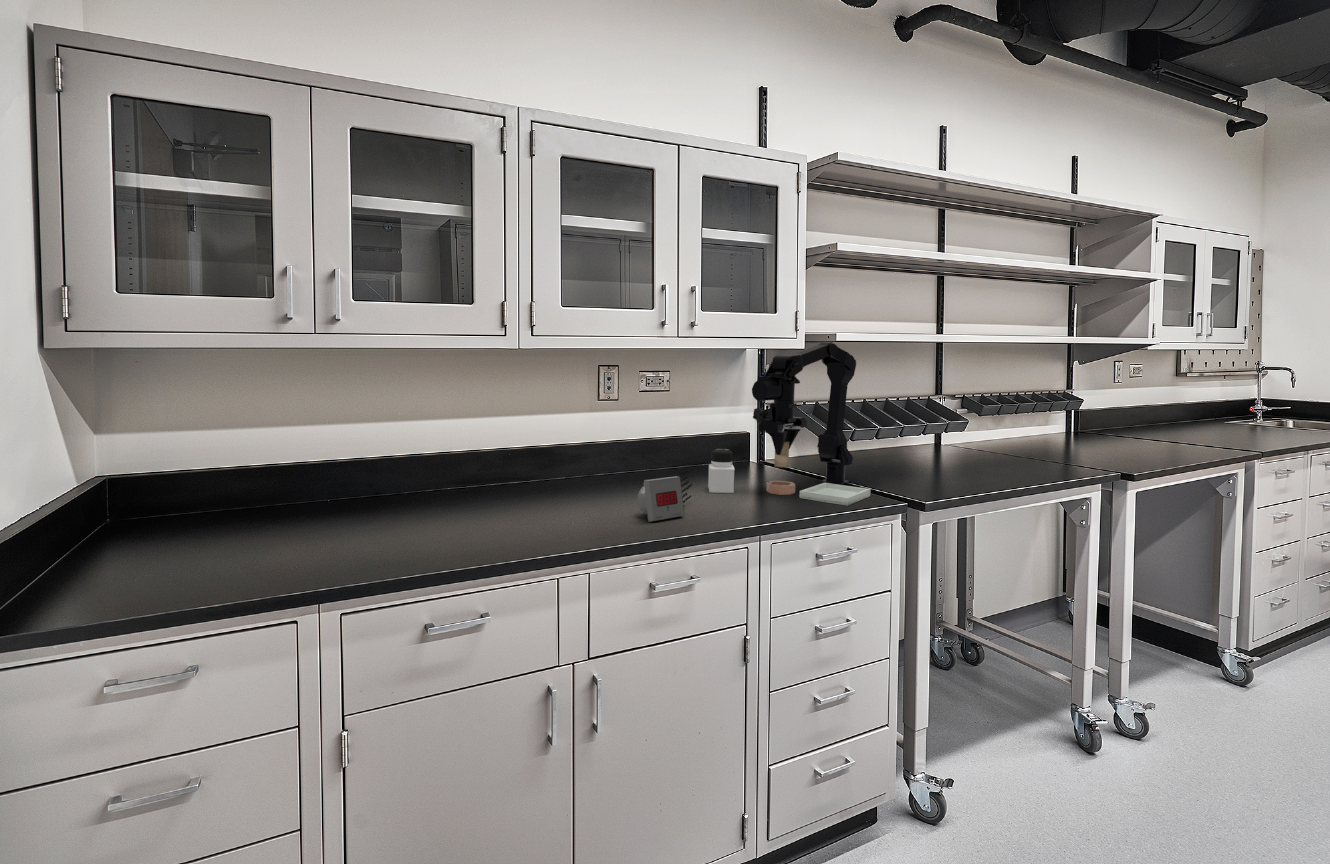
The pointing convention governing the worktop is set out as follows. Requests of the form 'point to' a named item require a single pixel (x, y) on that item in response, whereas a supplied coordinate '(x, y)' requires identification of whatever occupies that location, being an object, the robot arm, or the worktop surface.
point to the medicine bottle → (721, 472)
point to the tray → (835, 493)
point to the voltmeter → (663, 497)
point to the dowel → (782, 456)
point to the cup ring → (780, 487)
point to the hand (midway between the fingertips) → (781, 453)
